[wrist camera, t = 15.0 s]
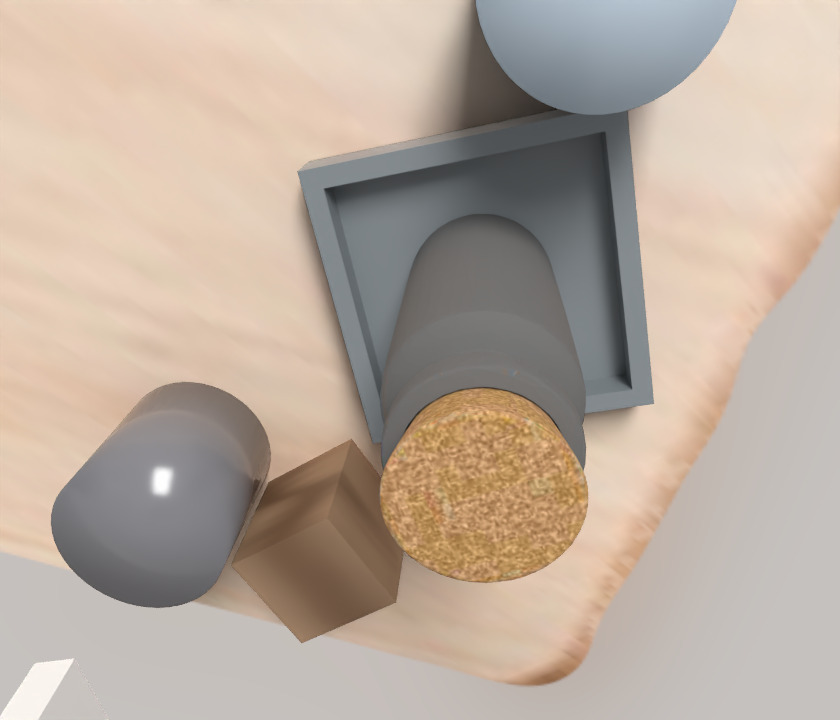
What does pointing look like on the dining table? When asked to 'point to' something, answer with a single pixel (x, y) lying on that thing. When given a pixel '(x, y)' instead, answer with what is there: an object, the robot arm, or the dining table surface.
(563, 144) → the tray
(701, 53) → the light blue cylinder
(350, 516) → the walnut block
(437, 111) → the dining table surface
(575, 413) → the bottle
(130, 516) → the gray domed object
